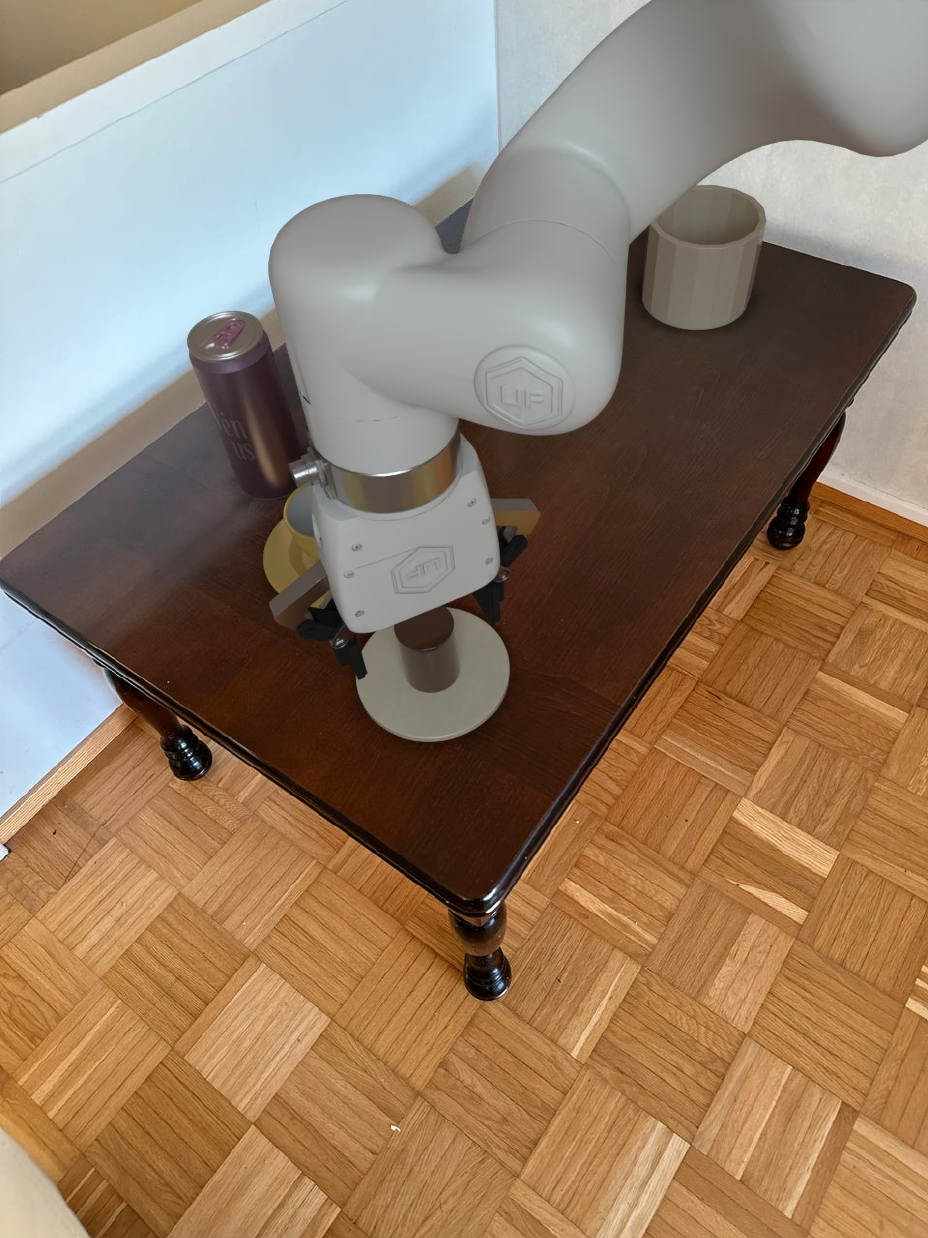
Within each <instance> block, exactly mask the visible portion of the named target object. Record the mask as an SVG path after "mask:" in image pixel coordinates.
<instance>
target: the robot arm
mask: <svg viewBox="0 0 928 1238" xmlns="http://www.w3.org/2000/svg"><path fill="white" fill-rule="evenodd" d="M793 141H805V142H806V141H807V142H815V143H821V144H824V145H825V144H826V145H830V146H835V147H839V148H843V149H845V150H846V149H847V150H849V151H851V152H853V153H856V154H859V155H862V156H868V157H873V158H886V157H888V158H889V157H895V156H897V155H901V154H904V153H908V152H910V151H912V150H913V149H915V148H917V147H919V146H920V145H922V144H924V143H925V142H926V141H928V0H649V1H648V2H647V3H645V4H644V5H642V6H641V7H640V8H637V10H636V11H634V12H633V13H632V14H631V15H630V16H628V17H627V18H626V19H624V21H622V22H621V23H620V24H619V25H618V26H617V27H615V28H614V29H613V30H611V32H610V33H608V34H607V35H606V36H605V37H604V38H603V39H602V40H601V41H600V42H599V43H598V44H597V45H596V46H595V47H594V48H593V49H591V51H589V53H588V54H587V55H586V56H585V57H584V58H583V59H582V61H580V62H579V64H578V65H577V66H576V67H575V68H574V69H573V70H572V71H571V72H570V73H569V74H568V75H567V76H566V77H565V79H563V81H562V82H561V83H560V84H559V85H558V86H557V88H556V89H555V90H554V91H553V92H552V93H551V94H550V95H549V96H548V97H547V99H546V100H545V101H544V102H543V103H542V104H541V105H540V106H539V107H538V109H537V110H536V111H534V113H532V115H531V116H530V118H529V119H527V121H526V122H525V123H524V124H523V125H522V127H520V129H518V131H517V132H516V133H515V134H514V135H513V136H512V138H510V140H509V141H508V142H507V143H506V145H505V146H504V147H503V148H502V150H501V151H500V152H499V154H497V156H496V157H495V158H494V160H493V162H492V163H491V165H490V166H489V168H488V169H487V171H486V173H485V174H484V176H483V177H482V179H481V181H480V183H479V186H478V188H477V190H476V192H475V194H474V195H473V199H472V202H471V205H470V208H469V211H468V215H467V217H466V222H465V225H464V229H463V233H462V237H461V241H460V245H459V250H458V252H457V253H449V252H446V250H445V249H444V246H443V243H442V241H441V237H440V235H439V233H438V231H437V229H436V227H435V226H434V225H433V223H432V222H431V221H430V219H429V218H428V217H427V216H426V215H425V214H424V213H423V212H422V211H421V210H419V209H418V208H416V207H415V206H413V205H411V204H410V203H407V202H405V201H403V200H400V199H397V198H395V197H392V196H387V195H381V194H372V193H355V194H346V195H339V196H335V197H331V198H327V199H324V200H321V201H318V202H316V203H313V204H311V205H309V206H307V207H305V208H303V209H302V210H301V211H299V212H298V213H296V214H295V215H293V216H292V217H291V218H290V219H289V220H288V221H287V222H286V223H284V224H283V225H282V227H281V228H280V230H278V232H277V234H276V236H275V238H274V240H273V243H272V245H271V247H270V250H269V256H268V262H267V273H268V281H269V284H270V289H271V294H272V299H273V302H274V306H275V310H276V314H277V317H278V320H279V325H280V329H281V332H282V336H283V339H284V343H285V347H286V350H287V354H288V357H289V358H288V359H289V362H290V366H291V369H292V373H293V376H294V377H293V378H294V381H295V384H296V389H297V391H298V395H299V399H300V402H301V407H302V410H303V414H304V417H305V421H306V425H307V428H308V431H307V432H306V436H307V439H308V443H309V446H308V447H306V454H303V456H301V459H300V460H297V461H294V462H292V463H289V464H288V466H289V469H290V472H291V475H292V477H293V480H294V482H295V484H296V486H297V488H301V487H303V486H306V485H309V484H311V511H312V522H313V530H314V536H315V542H316V548H317V553H318V558H319V561H318V562H317V563H316V564H314V565H313V566H312V567H311V568H310V569H308V570H307V571H306V572H305V573H304V574H302V575H301V576H300V577H299V578H297V579H296V580H295V581H294V582H293V583H291V584H290V585H289V586H288V587H287V588H285V589H284V590H283V591H282V592H280V593H278V594H277V595H275V596H274V597H273V598H272V599H271V600H270V601H269V603H268V607H269V609H270V612H271V614H272V617H273V619H274V621H275V622H276V623H277V624H278V625H280V626H282V627H284V628H287V630H290V631H292V632H293V631H295V633H298V635H299V637H300V638H302V639H306V640H312V641H319V642H325V643H329V646H330V648H331V649H333V652H334V655H335V657H336V659H337V661H338V664H339V665H340V666H339V667H340V668H343V667H347V666H348V665H350V666H351V668H352V670H353V673H354V675H355V678H356V677H357V679H358V680H360V679H362V678H365V675H367V674H368V673H367V670H366V666H365V663H364V659H363V655H362V649H361V645H360V643H359V641H358V639H357V635H356V633H357V634H368V633H373V632H374V633H375V632H376V631H378V630H381V629H384V628H386V627H389V626H392V625H394V624H397V623H399V622H402V621H404V620H407V619H409V618H412V617H414V616H417V615H419V614H422V613H424V612H427V611H429V610H431V609H434V608H436V607H439V606H441V605H443V606H444V605H446V604H447V603H451V602H453V601H455V600H457V599H458V600H459V599H460V598H462V597H465V596H467V595H470V594H472V596H473V598H474V599H475V601H476V603H477V604H478V606H479V607H480V609H481V611H482V612H483V614H484V616H485V617H486V619H487V621H488V622H489V623H492V624H495V623H497V622H500V621H501V619H502V617H501V602H502V601H504V600H505V581H507V580H508V579H509V578H510V576H511V575H512V570H511V569H510V567H511V565H512V564H513V563H514V562H515V561H516V560H517V559H518V557H520V555H521V554H522V553H523V552H524V551H525V549H527V547H528V546H529V541H528V538H529V536H531V535H532V533H533V532H534V529H535V527H536V526H537V524H538V522H539V520H540V518H541V516H542V513H541V512H540V510H539V508H538V507H537V506H536V505H535V503H534V502H533V500H532V499H531V498H491V496H490V492H489V488H488V483H487V480H486V476H485V473H484V470H483V469H484V468H483V467H482V464H481V460H480V458H479V455H478V453H477V451H476V448H475V447H474V446H473V445H472V444H471V443H470V442H469V440H468V439H466V437H465V436H464V434H463V433H461V427H460V425H461V424H460V419H461V420H464V421H468V422H471V423H474V424H477V425H480V426H484V427H488V428H492V429H495V430H500V431H505V432H509V433H512V434H517V435H519V434H520V435H527V436H537V437H541V436H556V435H557V436H558V435H562V434H565V433H570V432H573V431H575V430H578V429H580V428H583V427H584V426H586V425H587V424H589V423H590V422H592V421H593V420H595V419H596V418H597V417H598V416H599V415H600V414H601V413H602V412H603V410H604V409H605V408H606V407H607V406H608V404H609V403H610V401H611V399H612V397H613V395H614V393H615V390H616V388H617V385H618V382H619V377H620V373H621V366H622V359H623V349H624V334H625V333H624V331H625V315H626V299H627V277H628V260H629V250H630V245H631V244H632V243H633V242H634V241H635V240H636V238H637V237H639V236H640V235H641V234H642V233H643V232H644V231H645V230H646V229H648V226H649V225H650V224H651V223H652V222H654V221H655V220H656V219H657V218H658V217H659V216H660V215H661V214H663V213H664V212H665V211H666V210H667V209H668V208H669V207H671V206H672V205H673V204H674V203H675V202H676V201H677V200H679V199H680V198H681V197H682V196H683V195H684V194H686V193H687V192H688V191H689V190H690V189H692V188H693V187H694V186H695V185H699V183H701V182H702V181H703V180H704V179H706V178H707V177H708V176H710V175H711V174H714V173H715V172H716V171H717V170H719V169H720V168H722V167H724V166H725V165H726V164H728V163H730V162H732V161H734V160H735V159H738V158H739V157H741V156H743V155H745V154H747V153H750V152H752V151H754V150H758V149H759V148H762V147H765V146H769V145H773V144H777V143H782V142H793ZM497 527H498V528H499V527H501V528H500V529H499V530H497ZM329 590H330V591H329ZM328 591H329V593H328V594H327V596H326V597H325V599H324V600H323V602H322V603H321V605H320V606H319V608H316V607H311V605H312V604H313V603H314V602H316V601H317V600H318V599H319V598H321V597H322V596H323V595H324V594H325V593H327V592H328Z"/></svg>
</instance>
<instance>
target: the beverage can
mask: <svg viewBox="0 0 928 1238" xmlns="http://www.w3.org/2000/svg"><path fill="white" fill-rule="evenodd" d="M186 345H187V349H188V358H189V361H190V364H191V366H192V368H193V371H194V374H195V376H196V378H197V381H198V384H199V387H200V389H201V391H202V394H203V396H204V400H205V402H206V404H207V406H208V407H207V408H208V409H209V412H210V414H211V417H212V419H213V422H214V425H215V428H216V430H217V432H218V435H219V438H220V439H221V440H220V441H221V442H222V445H223V447H224V450H225V452H226V455H227V457H228V460H229V463H230V465H231V468H232V471H233V473H234V476H235V478H236V480H237V483H238V485H239V488H240V489H241V490H242V492H244V493H245V494H247V495H249V496H250V497H251V498H253V499H257V500H261V501H267V502H268V501H269V502H270V501H277V500H281V499H284V498H286V497H287V498H288V497H289V496H290V495H291V494H292V493H293V492H294V491H295V490H296V489H297V486H296V484H295V482H294V480H293V477H292V475H291V472H290V469H289V466H288V464H289V463H292V462H294V461H297V460H300V459H301V456H303V455H304V452H303V448H302V445H301V442H300V439H299V434H298V431H297V428H296V424H295V422H294V421H295V420H294V418H293V414H292V412H291V408H290V405H289V401H288V398H287V395H286V392H285V388H284V384H283V381H282V378H281V374H280V371H279V369H278V368H279V367H278V365H277V361H276V358H275V355H274V351H273V348H272V345H271V342H270V338H269V334H268V333H267V331H266V330H265V329H264V326H263V324H262V322H261V321H260V319H259V318H258V317H256V316H255V315H253V314H252V313H249V312H246V311H241V310H227V311H220V312H217V313H214V314H211V315H208V316H207V317H204V318H203V319H201V320H200V321H198V322H197V323H196V324H195V325H194V326H193V327H192V328H191V329H190V331H189V333H188V334H187V338H186Z"/></svg>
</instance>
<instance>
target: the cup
mask: <svg viewBox="0 0 928 1238" xmlns="http://www.w3.org/2000/svg"><path fill="white" fill-rule="evenodd" d="M286 499H287V500H285V503H284V506H283V512H282V518H281V520H279V521H278V523H277V524H276V525H275V526H274V528H273V529H272V530H271V532H270V534H269V535H268V538H267V540H266V542H265V545H264V549H263V554H262V566H263V571H264V573H265V576H266V578H267V580H268V582H269V584H270V585H271V586H272V588H273V589H274V590H275V592H277V593H278V594H279V593H280V592H282V591H283V590H284V589H285V588H287V587H288V586H289V585H290V584H291V583H293V582H294V581H295V580H296V579H297V578H299V577H300V576H301V575H302V574H304V573H305V572H306V571H307V570H308V569H310V568H311V567H312V566H313V565H314V564H316V563H317V562H318V561H319V558H318V553H317V548H316V542H315V536H314V530H313V522H312V511H311V484H309V485H306V486H303V487H301V488H297V489H296V490H295V491H294V492H293V493H292V494H290V495H289V496H288V497H287V498H286ZM329 591H330V590H329ZM329 591H328V592H327V593H325V594H324V595H323V596H322V597H321V598H319V599H318V600H317V601H316V602H314V603H313V604H312V605H311V607H316V608H319V606H320V605H321V603H322V602H323V600H324V599H325V597H326V596H327V594H328V593H329Z"/></svg>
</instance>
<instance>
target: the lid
mask: <svg viewBox="0 0 928 1238" xmlns="http://www.w3.org/2000/svg"><path fill="white" fill-rule="evenodd" d="M506 647H507V646H506V645H505V643H504V642H503V640H502V638H501V636H500V635H499V634H498V632H497V631H496V630H495V629H494V628H493V627H492V626H491V625H490V624H489V623H487V622H486V621H485V620H484V619H482V618H480V617H479V616H477V615H475V614H473V613H471V612H468V611H465V610H461V609H458V608H454V607H453V608H452V607H446V606H445V605H444V604H443V605H441V606H439V607H436V608H434V609H431V610H429V611H427V612H424V613H422V614H419V615H417V616H414V617H412V618H409V619H407V620H404V621H402V622H399V623H397V624H394V625H392V626H389V627H386V628H384V629H381V630H378V631H374V633H373V634H371V636H370V638H369V639H368V641H367V642H366V643H365V645H364V646H363V648H362V649H361V652H362V655H363V659H364V663H365V666H366V670H367V673H368V674H367V675H365V678H362V679H360V680H358V679H357V677H356V676H355V685H356V689H357V694H358V697H359V700H360V702H361V705H362V706H363V708H364V711H365V712H366V713H367V715H368V716H369V718H371V720H373V721H374V722H375V723H376V724H377V726H379V727H381V728H382V729H384V730H385V731H387V732H388V733H391V734H392V735H394V736H397V737H400V738H402V739H406V740H411V741H414V742H424V743H426V742H427V743H428V742H435V743H436V742H442V741H448V740H452V739H456V738H458V737H461V736H463V735H466V734H468V733H470V732H472V731H474V730H476V729H477V728H478V727H480V726H482V725H483V724H484V723H485V722H486V721H488V720H489V719H490V718H491V717H492V716H493V714H494V713H495V712H496V711H497V710H498V709H499V707H500V705H501V704H502V703H503V701H504V698H505V696H506V694H507V691H508V688H509V685H510V678H511V664H510V658H509V654H508V650H507V648H506Z"/></svg>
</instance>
